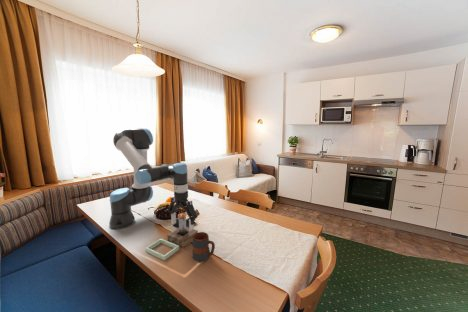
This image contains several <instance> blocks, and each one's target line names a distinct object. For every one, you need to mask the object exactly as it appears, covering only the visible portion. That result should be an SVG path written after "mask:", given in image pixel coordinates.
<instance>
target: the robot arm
mask: <svg viewBox="0 0 468 312" xmlns="http://www.w3.org/2000/svg"><path fill="white" fill-rule="evenodd" d="M112 141H113V145H114V147H115V148H116V150H118V151H120V152H121V153H122V155H123V156H124V157H125V158H126V160H127V161H128V163H129V164H130V166H131V167H132V168H133V183H132V185H131V188H128V187H123V188H118V189H115V190H114V191H112V192H110V194H109V202H110V203H109V205H110V211H111V215H110V219H109V222H108V223H109V224H108V225H109V228H110V227H111V229H113V228H115V229H114V230H116V229H117V228H119V229H123V228H127V227H130V226H132V225H133V224H134V223H135V221H136V220H135V219H136V218H135V215H134V214H133V210H132V206H136V205H137V206H138V205H140V204H144V203H146V202H149V201H150V200H152V198H153V197H154V189H153V187H152V186H151V184H150V183H155V182H159V181H164V180H168V179H171V180H173V191H174V192H173V197H171V198H170V203H169V206H168V209H167V212H168V213H169V214H170V219H171V225H172V226H173V224H175V223H176V219H177V213H176V211H177V209H178V208H181V209H183V210H184V211H185V213H186V215H188V218H190V219H189V231H191V230H193V229H194V228H195V227H194V225H195V223H194V222H195V221H194V219H195V220H196V219H197V218H198V215H197V212H196V210H195V207H194V205H193V200H188V197H189V185H188V165H187V163H185V162H183V163H182V162H176V163H174V164H162V165H161V166H158V167H157V166H156V167H152V166H151V165H150V163H149V162H148V150H149V149H150V146H151V145H153V143H154V137H153V133H152V132H151V130H150V129H148V128H142V127H138V128H136V127H135V128H128V127H127V128H122V129H119V130H118V131H117V132H115V133H114V136H113V140H112ZM117 230H118V229H117ZM194 230H195V229H194Z"/></svg>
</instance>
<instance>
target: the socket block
mask: <svg viewBox="0 0 468 312" xmlns="http://www.w3.org/2000/svg"><path fill="white" fill-rule="evenodd" d="M198 232H199V230H198V229H197V230H196V229H193V230H191V231H189V228H188V227H186V235H184V236H181V235H179V228H176V229H174V230H173V231H172V232H170V233H168V234H167V235H166V236H167V237H166V238H167V239H166V240H167V241H168V242H171V243H173V244H176V245H178V246H179V248H185V247H187V246H188V245H189V244H191V243H193V235H194V234H196V233H198Z"/></svg>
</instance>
